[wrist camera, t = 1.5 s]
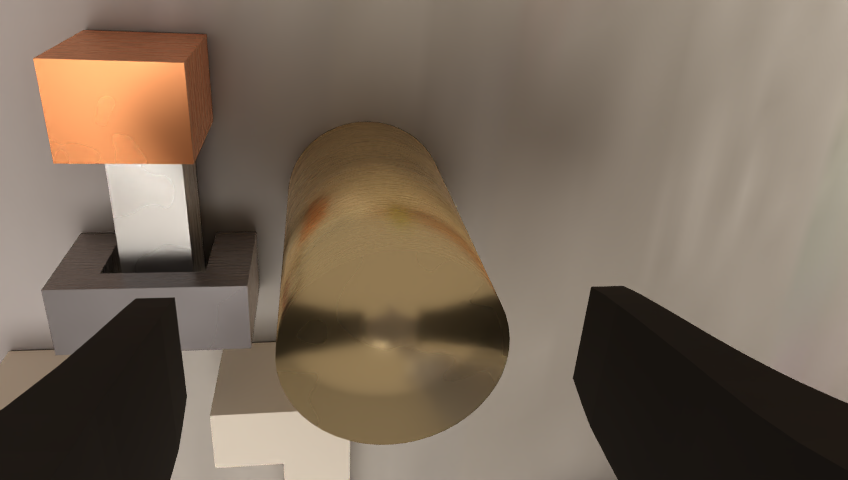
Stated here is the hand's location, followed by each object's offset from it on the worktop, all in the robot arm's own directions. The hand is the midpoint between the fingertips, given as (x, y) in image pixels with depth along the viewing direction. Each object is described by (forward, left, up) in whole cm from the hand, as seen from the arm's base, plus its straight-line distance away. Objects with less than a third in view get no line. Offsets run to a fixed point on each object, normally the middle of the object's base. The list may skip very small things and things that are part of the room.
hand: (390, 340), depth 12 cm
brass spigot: (0, 0, -7) cm, 7 cm away
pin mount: (+5, +2, -7) cm, 8 cm away
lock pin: (+5, 0, -7) cm, 8 cm away
